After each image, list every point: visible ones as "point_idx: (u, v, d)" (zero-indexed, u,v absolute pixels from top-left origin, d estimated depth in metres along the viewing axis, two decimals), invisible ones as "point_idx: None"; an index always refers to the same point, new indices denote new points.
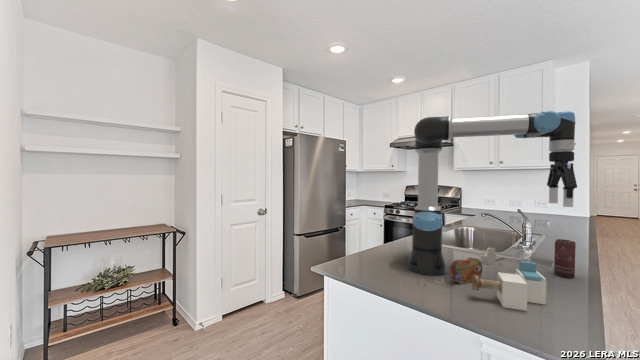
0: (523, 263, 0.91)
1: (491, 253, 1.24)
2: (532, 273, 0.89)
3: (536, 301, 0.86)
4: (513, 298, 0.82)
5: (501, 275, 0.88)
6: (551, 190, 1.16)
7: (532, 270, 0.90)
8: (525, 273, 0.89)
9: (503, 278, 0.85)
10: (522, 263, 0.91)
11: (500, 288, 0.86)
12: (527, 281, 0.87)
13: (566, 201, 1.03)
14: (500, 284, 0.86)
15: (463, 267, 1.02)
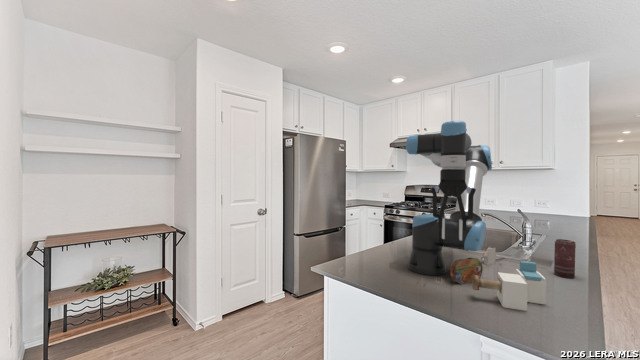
0: (523, 263, 0.91)
1: (492, 253, 1.24)
2: (532, 273, 0.89)
3: (536, 301, 0.86)
4: (513, 298, 0.82)
5: (501, 275, 0.88)
6: (459, 222, 0.92)
7: (532, 270, 0.90)
8: (525, 273, 0.89)
9: (503, 278, 0.85)
10: (522, 263, 0.91)
11: (500, 288, 0.86)
12: (527, 281, 0.87)
13: None
14: (500, 284, 0.86)
15: (463, 267, 1.02)
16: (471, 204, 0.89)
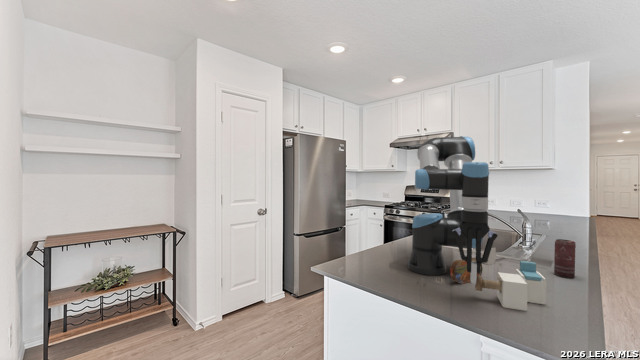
0: (523, 263, 0.91)
1: (492, 253, 1.24)
2: (532, 273, 0.89)
3: (536, 301, 0.86)
4: (513, 298, 0.82)
5: (501, 275, 0.88)
6: None
7: (532, 270, 0.90)
8: (525, 273, 0.89)
9: (503, 278, 0.85)
10: (522, 263, 0.91)
11: None
12: (527, 281, 0.87)
13: (470, 275, 0.90)
14: None
15: (463, 267, 1.02)
16: (488, 248, 0.87)
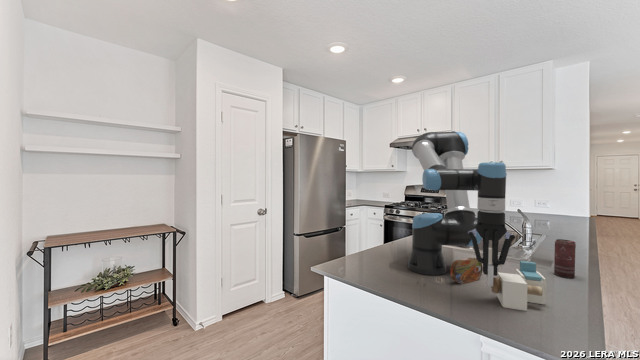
0: (523, 263, 0.91)
1: None
2: (532, 273, 0.89)
3: (536, 301, 0.86)
4: (513, 298, 0.82)
5: (501, 275, 0.88)
6: None
7: (532, 270, 0.90)
8: (525, 273, 0.89)
9: (503, 278, 0.85)
10: (522, 263, 0.91)
11: None
12: (527, 281, 0.87)
13: (486, 277, 0.89)
14: None
15: (463, 267, 1.02)
16: (506, 250, 0.85)
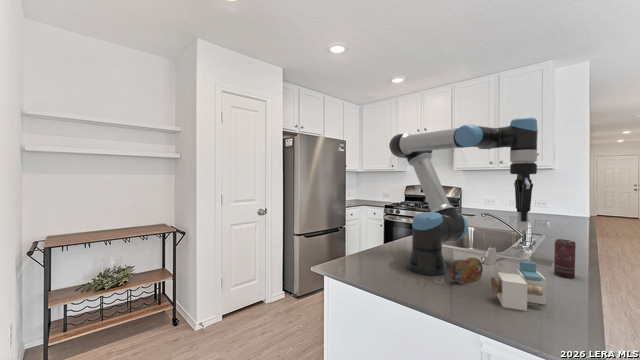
0: (523, 263, 0.91)
1: (492, 253, 1.24)
2: (532, 273, 0.89)
3: (536, 301, 0.86)
4: (513, 298, 0.82)
5: (501, 275, 0.88)
6: None
7: (532, 270, 0.90)
8: (525, 273, 0.89)
9: (503, 278, 0.85)
10: (522, 263, 0.91)
11: None
12: (527, 281, 0.87)
13: (520, 225, 0.96)
14: None
15: (463, 267, 1.02)
16: None
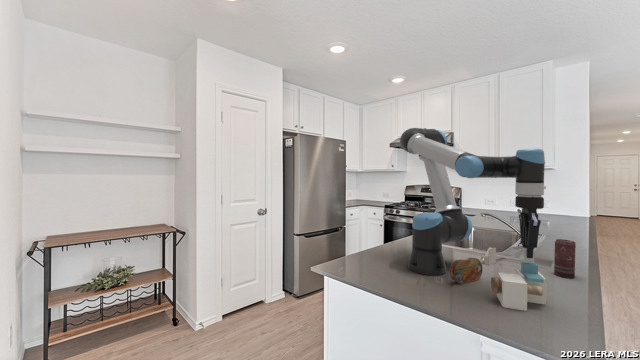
0: (525, 264, 0.90)
1: (492, 253, 1.24)
2: (533, 274, 0.88)
3: (536, 301, 0.86)
4: (513, 298, 0.82)
5: (501, 275, 0.88)
6: None
7: (534, 272, 0.89)
8: (527, 275, 0.88)
9: (503, 278, 0.85)
10: (524, 264, 0.90)
11: None
12: (527, 281, 0.87)
13: (526, 261, 0.91)
14: None
15: (463, 267, 1.02)
16: None
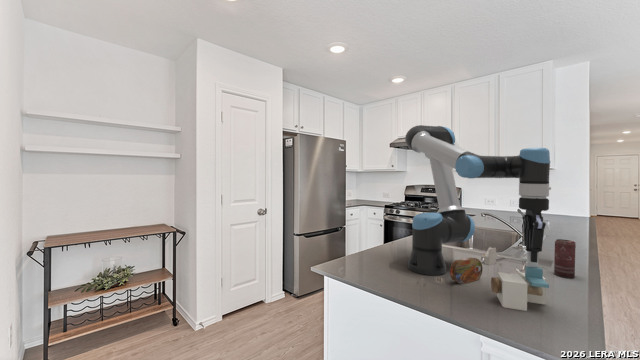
0: (529, 269, 0.86)
1: (493, 253, 1.24)
2: (538, 279, 0.84)
3: (536, 301, 0.86)
4: (513, 298, 0.82)
5: (501, 275, 0.88)
6: None
7: (538, 276, 0.85)
8: (531, 279, 0.84)
9: (503, 278, 0.85)
10: (528, 269, 0.86)
11: None
12: (527, 281, 0.87)
13: (530, 265, 0.87)
14: None
15: (463, 267, 1.02)
16: None
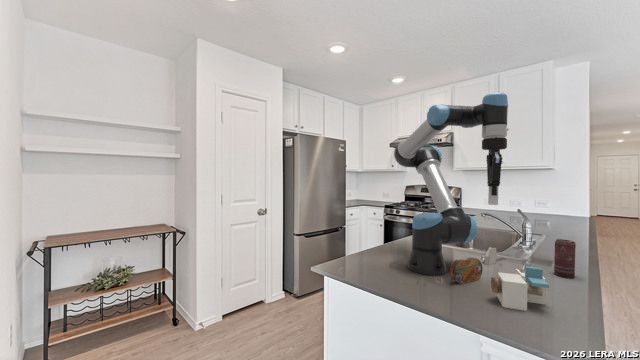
0: (529, 269, 0.86)
1: (493, 253, 1.24)
2: (538, 279, 0.84)
3: (536, 301, 0.86)
4: (513, 298, 0.82)
5: (501, 275, 0.88)
6: None
7: (538, 276, 0.85)
8: (531, 279, 0.84)
9: (503, 278, 0.85)
10: (528, 269, 0.86)
11: None
12: (527, 281, 0.87)
13: (491, 199, 0.98)
14: None
15: (463, 267, 1.02)
16: None
